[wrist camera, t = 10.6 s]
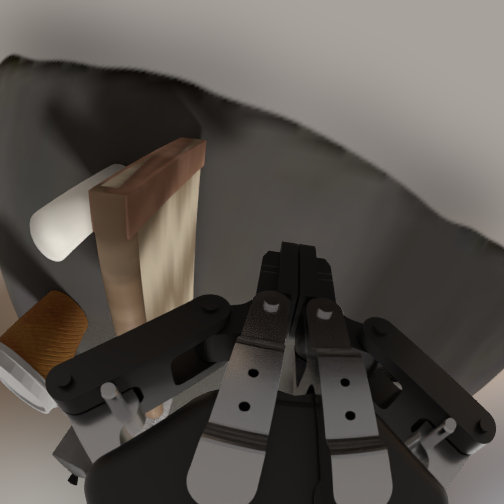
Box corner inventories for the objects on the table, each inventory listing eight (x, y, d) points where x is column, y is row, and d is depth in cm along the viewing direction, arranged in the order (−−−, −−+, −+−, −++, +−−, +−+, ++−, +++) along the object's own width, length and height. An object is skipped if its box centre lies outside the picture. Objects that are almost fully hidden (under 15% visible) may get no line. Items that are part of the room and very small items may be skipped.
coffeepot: (109, 411, 44) (78, 487, 29) (72, 382, 40) (33, 460, 25) (160, 411, 38) (127, 509, 23) (116, 376, 34) (68, 483, 19)
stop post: (140, 200, 20) (75, 261, 13) (108, 203, 20) (41, 260, 13) (131, 161, 18) (55, 209, 11) (98, 167, 19) (23, 213, 12)
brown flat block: (194, 326, 25) (159, 421, 16) (177, 321, 25) (138, 414, 16) (206, 140, 16) (120, 201, 8) (181, 137, 16) (81, 195, 8)
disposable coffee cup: (76, 278, 25) (8, 365, 15) (112, 343, 30) (68, 426, 20) (27, 277, 27) (-30, 344, 17) (61, 334, 32) (19, 401, 22)
